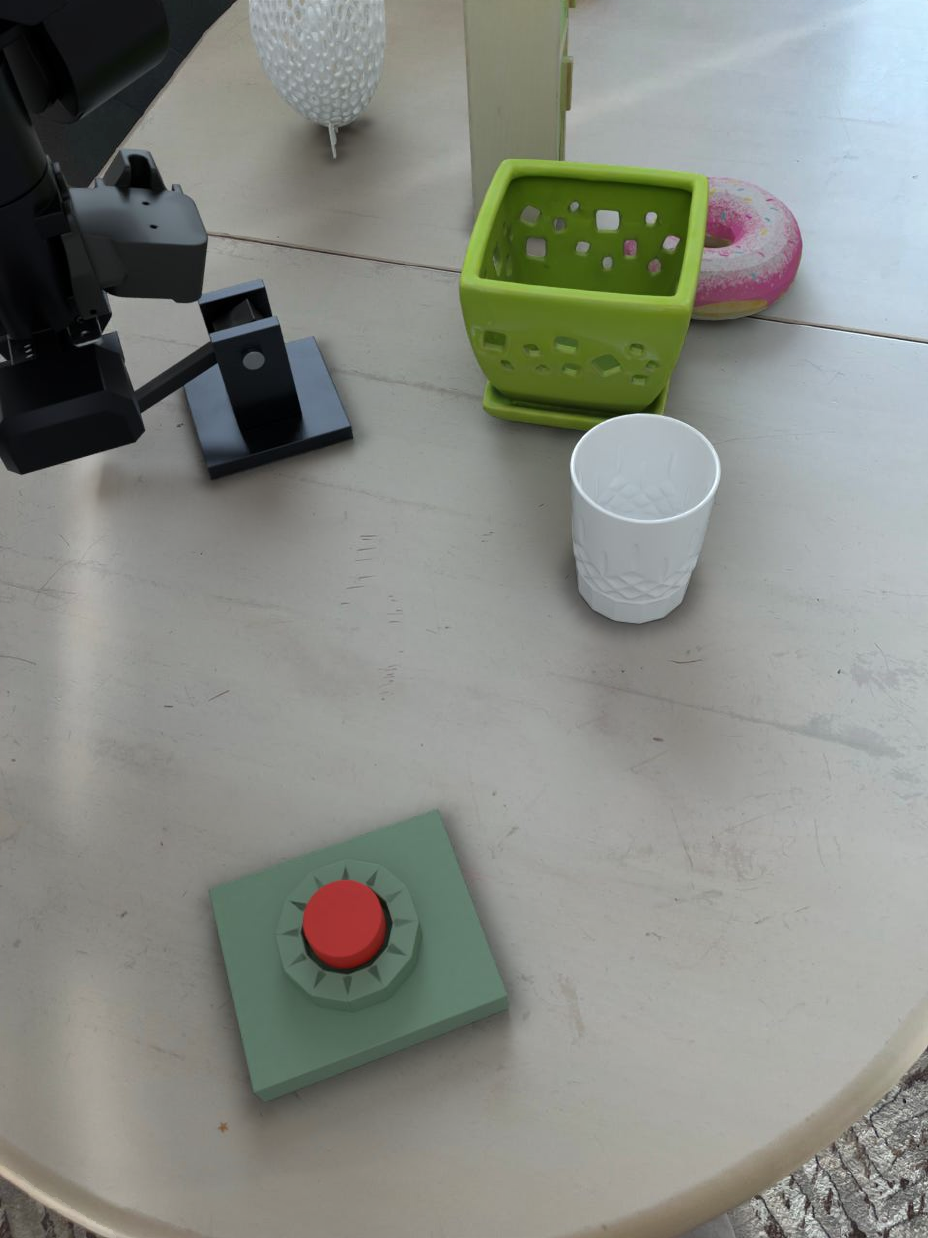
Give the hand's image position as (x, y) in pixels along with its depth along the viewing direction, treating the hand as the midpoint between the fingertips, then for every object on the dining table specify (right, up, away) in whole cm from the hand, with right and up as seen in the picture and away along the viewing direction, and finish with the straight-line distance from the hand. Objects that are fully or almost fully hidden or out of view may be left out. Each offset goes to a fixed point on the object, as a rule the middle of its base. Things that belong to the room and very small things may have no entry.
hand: (100, 438), depth 58 cm
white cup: (+30, -8, +6) cm, 32 cm away
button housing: (+15, -26, -6) cm, 31 cm away
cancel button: (+14, -24, -9) cm, 30 cm away
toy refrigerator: (+25, +24, +29) cm, 45 cm away
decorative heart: (+8, +34, +37) cm, 51 cm away
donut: (+38, +16, +22) cm, 47 cm away
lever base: (+6, +5, +17) cm, 18 cm away
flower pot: (+28, +7, +16) cm, 33 cm away
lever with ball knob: (+1, +5, +13) cm, 14 cm away
